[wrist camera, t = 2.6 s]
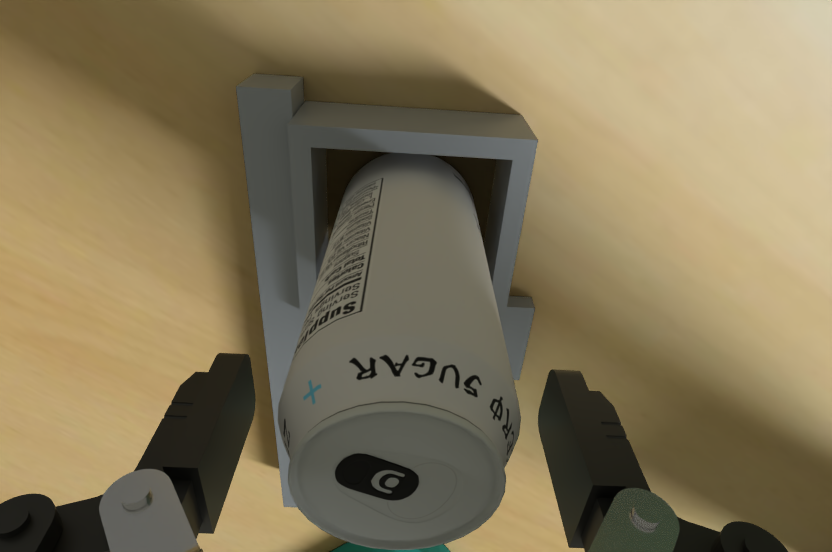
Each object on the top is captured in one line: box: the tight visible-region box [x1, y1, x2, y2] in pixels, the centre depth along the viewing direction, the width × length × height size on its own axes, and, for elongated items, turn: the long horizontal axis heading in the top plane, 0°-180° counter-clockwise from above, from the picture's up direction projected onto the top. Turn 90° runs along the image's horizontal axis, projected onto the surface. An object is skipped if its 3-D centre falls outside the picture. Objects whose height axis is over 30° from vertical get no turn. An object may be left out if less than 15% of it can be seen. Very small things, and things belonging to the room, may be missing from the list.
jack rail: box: [236, 74, 538, 507], centre depth 26 cm, size 13×25×4 cm, turn 176°
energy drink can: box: [278, 153, 521, 550], centre depth 18 cm, size 6×6×15 cm
